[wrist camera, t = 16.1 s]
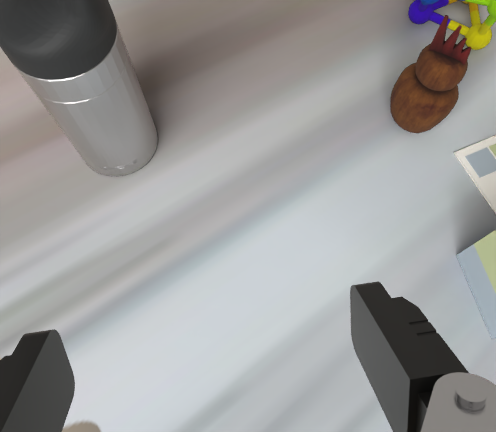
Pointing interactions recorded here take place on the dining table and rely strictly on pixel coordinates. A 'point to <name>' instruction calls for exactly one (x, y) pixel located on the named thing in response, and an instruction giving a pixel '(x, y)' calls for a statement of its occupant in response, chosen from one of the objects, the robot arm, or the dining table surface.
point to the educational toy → (475, 35)
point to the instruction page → (481, 167)
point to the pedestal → (482, 277)
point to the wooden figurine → (430, 83)
